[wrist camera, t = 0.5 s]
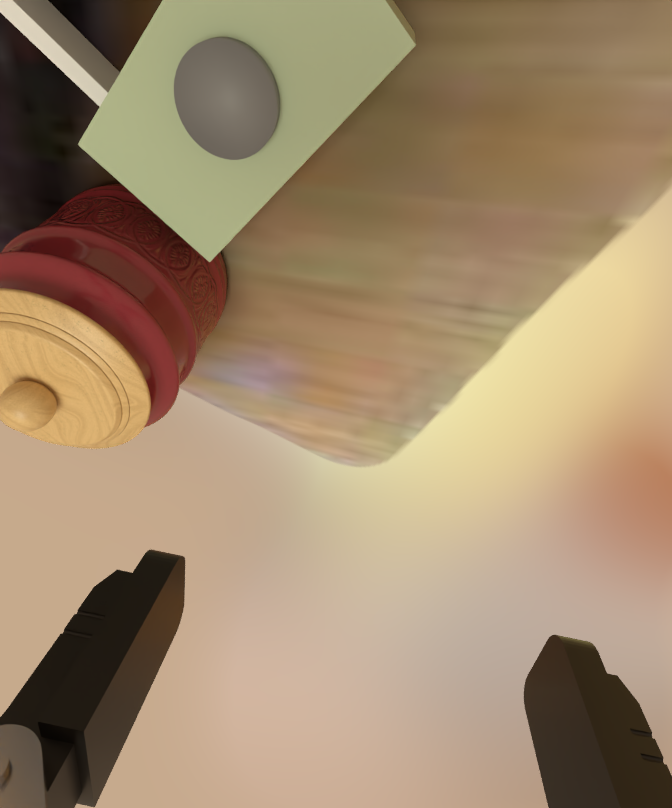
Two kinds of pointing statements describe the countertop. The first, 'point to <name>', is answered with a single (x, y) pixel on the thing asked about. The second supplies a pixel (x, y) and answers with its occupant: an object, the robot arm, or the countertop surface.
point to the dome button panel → (222, 97)
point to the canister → (101, 320)
